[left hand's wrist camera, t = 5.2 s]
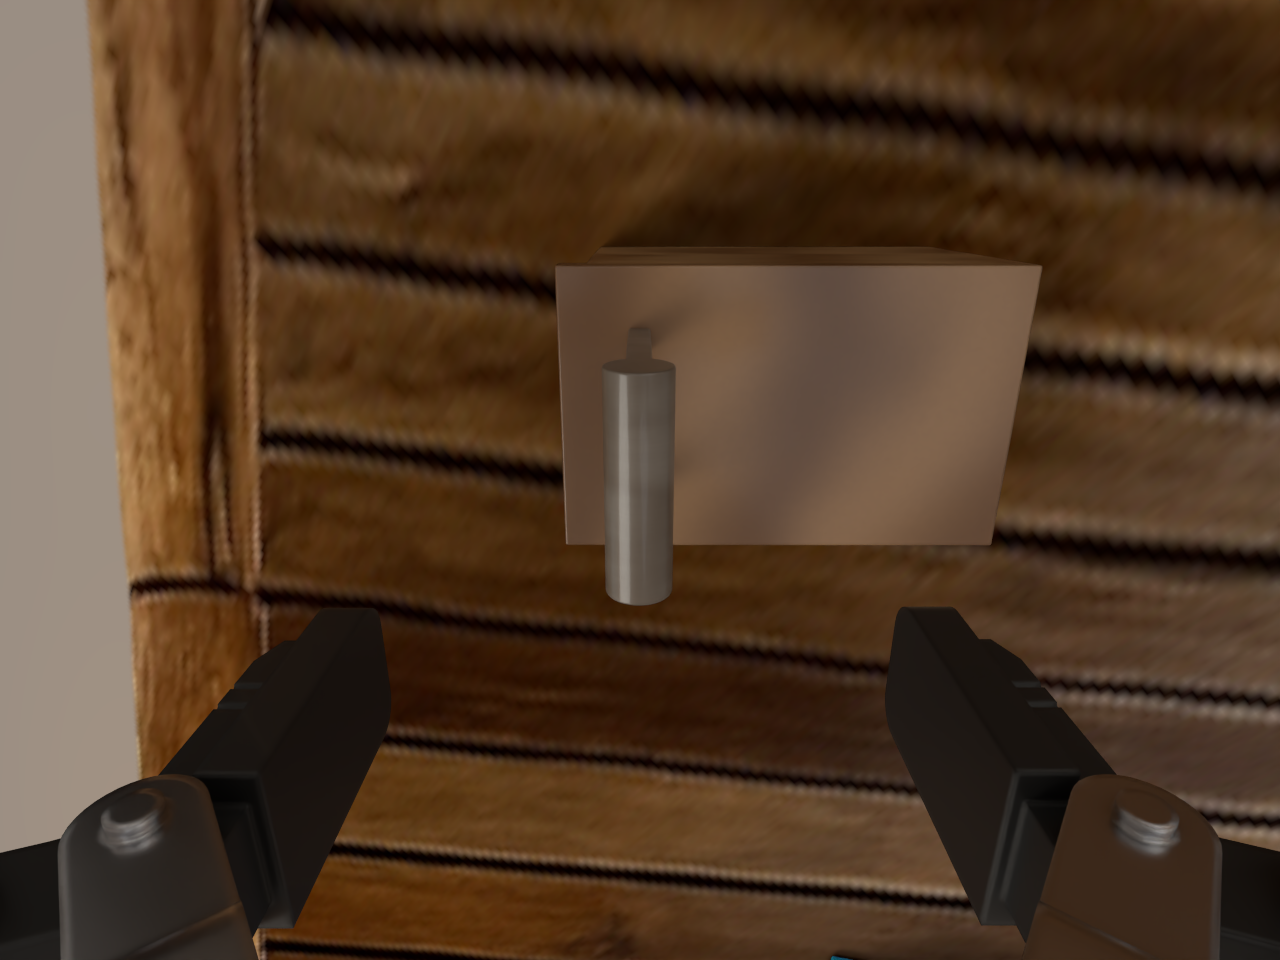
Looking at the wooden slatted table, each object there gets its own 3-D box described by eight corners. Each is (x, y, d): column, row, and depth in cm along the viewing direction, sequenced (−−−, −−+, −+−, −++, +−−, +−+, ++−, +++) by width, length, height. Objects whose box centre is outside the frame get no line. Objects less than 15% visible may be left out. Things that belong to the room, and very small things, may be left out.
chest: (603, 457, 35) (592, 534, 27) (599, 246, 32) (585, 262, 24) (902, 457, 35) (980, 535, 27) (930, 246, 32) (1029, 262, 24)
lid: (567, 535, 27) (539, 665, 19) (557, 263, 24) (518, 293, 16) (981, 535, 27) (1112, 665, 19) (1030, 262, 24) (1212, 292, 16)
